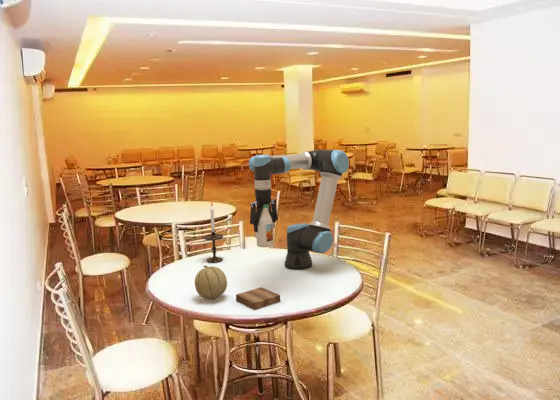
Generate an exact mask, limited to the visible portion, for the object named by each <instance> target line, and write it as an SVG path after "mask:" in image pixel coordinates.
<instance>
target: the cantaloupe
mask: <svg viewBox="0 0 560 400" xmlns="http://www.w3.org/2000/svg"><path fill="white" fill-rule="evenodd" d="M194 287H195V288H194V289H195V290H196V292H197V294H198V295H199V296H200V297H202V298H204V299H208V300H214V299H217V298H218V297H220V296H222V295H224V293H225V291H227V287H228V278H227V277H226V273H224V271H223V269H221V268H219V267H217V266H208V265H204V266H203V268H202V269H200V270H199V271H198V272H197V273H196V275H195V278H194Z"/></svg>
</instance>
